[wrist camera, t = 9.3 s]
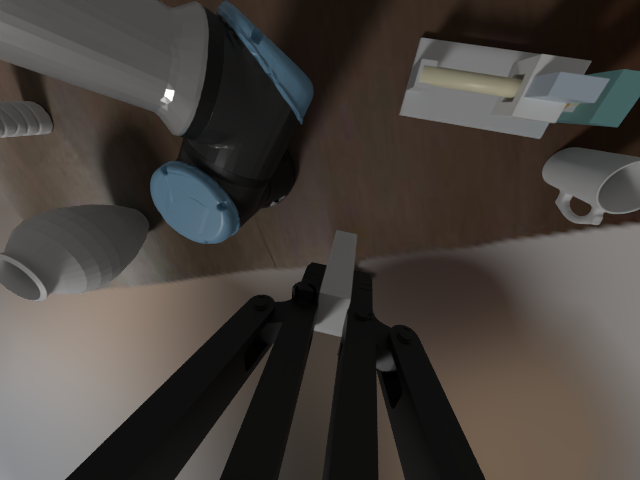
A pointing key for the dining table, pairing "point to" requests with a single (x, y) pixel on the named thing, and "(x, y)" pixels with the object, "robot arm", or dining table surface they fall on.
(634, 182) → the mug
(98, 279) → the vase
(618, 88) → the grey vise fixture
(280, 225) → the dining table surface
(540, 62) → the grey stepped block
